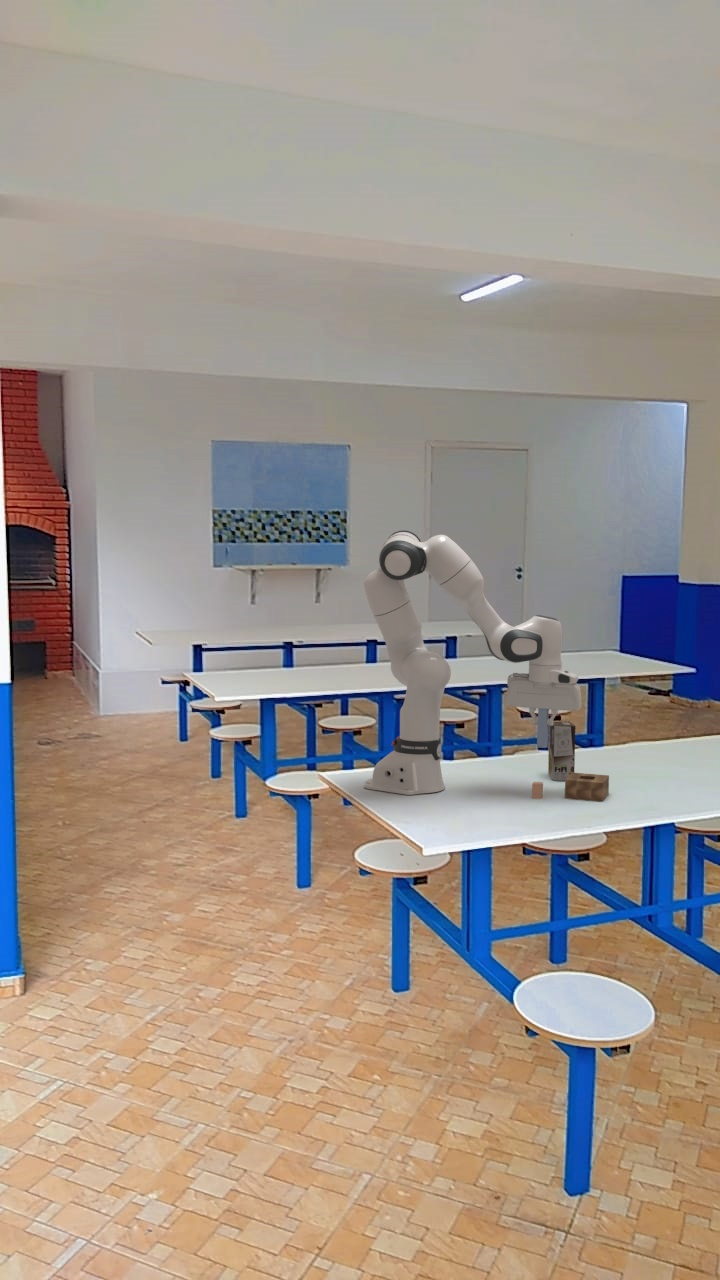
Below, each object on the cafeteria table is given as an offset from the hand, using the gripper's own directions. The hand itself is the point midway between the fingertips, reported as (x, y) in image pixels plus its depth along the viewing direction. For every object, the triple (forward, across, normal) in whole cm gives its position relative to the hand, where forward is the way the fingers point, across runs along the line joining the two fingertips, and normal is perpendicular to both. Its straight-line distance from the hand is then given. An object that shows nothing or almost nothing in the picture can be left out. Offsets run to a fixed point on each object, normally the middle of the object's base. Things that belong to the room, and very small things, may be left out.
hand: (543, 724), depth 276 cm
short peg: (+19, +1, -7) cm, 20 cm away
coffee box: (+19, +2, +20) cm, 28 cm away
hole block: (+18, +13, 0) cm, 22 cm away
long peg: (+6, 0, 0) cm, 6 cm away
